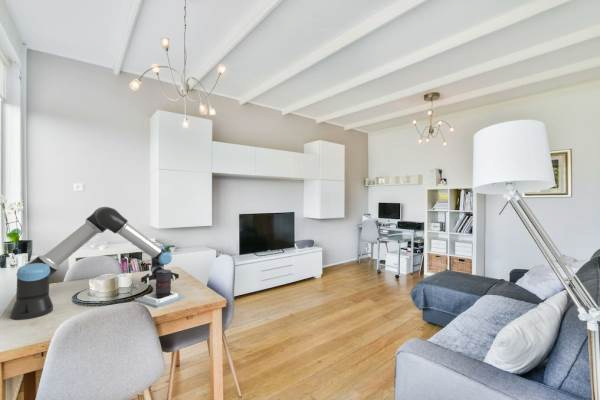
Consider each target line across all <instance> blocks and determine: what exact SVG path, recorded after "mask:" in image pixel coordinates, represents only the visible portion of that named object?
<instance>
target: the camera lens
mask: <svg viewBox="0 0 600 400" xmlns="http://www.w3.org/2000/svg"><path fill="white" fill-rule="evenodd" d="M171 272H172V270H170V269H164V270H159V271H157V273H156V280H155V284H154V285H155V292H156V295H157V298H159V299H161V298H164V297H167V296H169V295H170V292H172V291H171V290H172V279H171V274H172V273H173V272H172V273H171Z"/></svg>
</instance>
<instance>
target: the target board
mask: <svg viewBox="0 0 600 400" xmlns="http://www.w3.org/2000/svg"><path fill="white" fill-rule="evenodd" d="M184 299H185V300H186V296H185V295H184V294H183V295H182V294H179V293H177V292H173V291H170V295H169V296H167V297H164V298H161V299H159V298H157V295H156V291H154V292H152V293H147V294H144V295H141V296H139V297H136V298H134V300H135V301H134V302H137V303H140V304H143V305H146V306H149V307H153V308H156V309H158V308H161V307H162V308H163V307H164V306H167V305H170V304H172V303H176V302H178V301H181V300H184Z"/></svg>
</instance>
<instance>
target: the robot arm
mask: <svg viewBox="0 0 600 400" xmlns="http://www.w3.org/2000/svg"><path fill="white" fill-rule="evenodd" d="M106 230H109V231H110V232H112V233H113V234H118V235H120V236H121V237H123V238H124V239H126V241H128V242H129V243H130V244H132V245H134V247H137V248H138V250H141V251H142V252H144V253H145V254H146V255H148V256H149V257H150V258H151V265H150V266H151V267H150V272H151V274H150V273H146V274H145V275H143V276H142V277H141V278H140V283H144V284H146V286H149V285H150V281H153V280H154V281H156V273H157V271H159V270H165V267H164V265H165V266H166V265H169V264H170V263H171V262H172V260H173V259H172V255H171V254H170V252H168V251H166V249H165V246H164V245H158V244H157V243H155V242H154V241H152V239H150V238H148V237H147V236H146V235H144V234H143V233H142V232H141V231H139V230H138V229H136V228H135V227H134V226H133V225H131V224H130V223H129V221H128V219H126V218H125V217H124V216H123V215H122V214H121V213H120V212H118V210H116V209H115V208H112V207H110V206H100V207H98V208H97V209H95V210H94V212H93V213H92V214H91V215H89V216H88V217H87V218H85V223H83V224H82V225H81V226H79V228H77V229H76V230H75V231H73V232H72V233H71V234H70V235H68V236H67V237H66V238H65V239H63V240H62V241H61V242H60V243H59V242H58V244H57V245H55V247H53V248H52V249H51V250H49V251H48V252H46V254H43V255H42V254H41V255H38V256H37V257H35V258H34V259H33V260H32V261H30V262H27V263H26V264H25V265H22V266H19V268H17V273H16V298H15V302H14V303H13V307H12V309H11V310H10V319H13V320H28V319H33V318H39V317H42V316H44V315H45V316H46V315H47V314H49V313H52V311H54V304H53V302H52V300H51V299H52V298H51V297H50V277H51V276H53V275H54V274H55V273H56V272H57V271H58V270H59V268H60V265H61V264H62V263H64V261H66V260H68V259H69V258H70V257H71V256H72V255H74V253H75V252H77V251H79V249H81V248H82V247H83V246H84V245H86V244H87V243H88V242H89V241H91V239H92V238H94V237H95V236H96V235H97V234H103V233H105V231H106ZM171 273H172V274H171V281H172V282H173V283H176V280H177V279H178V280H179V279H180V278H179V277H180V274H179V273H176V272H172V271H171Z"/></svg>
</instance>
